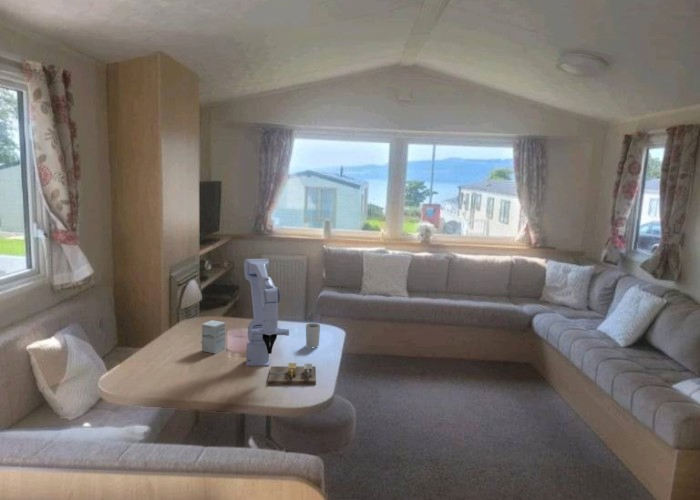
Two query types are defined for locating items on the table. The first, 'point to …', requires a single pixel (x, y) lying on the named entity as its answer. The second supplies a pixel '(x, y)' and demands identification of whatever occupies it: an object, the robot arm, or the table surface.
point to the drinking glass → (312, 334)
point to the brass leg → (292, 369)
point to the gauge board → (302, 377)
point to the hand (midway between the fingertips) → (269, 352)
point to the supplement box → (213, 336)
